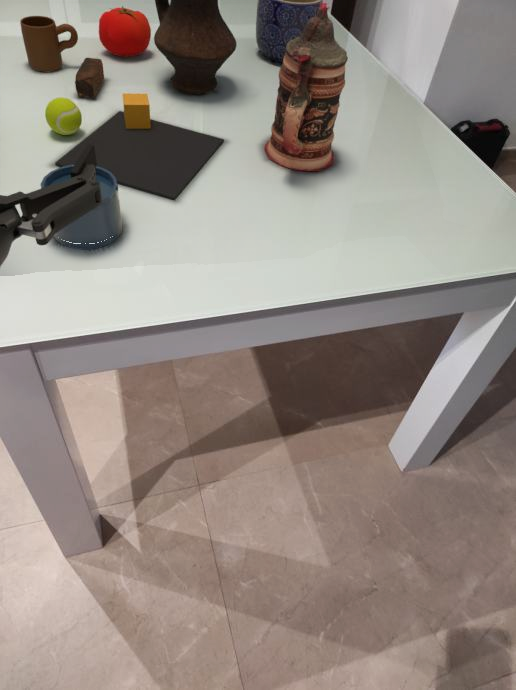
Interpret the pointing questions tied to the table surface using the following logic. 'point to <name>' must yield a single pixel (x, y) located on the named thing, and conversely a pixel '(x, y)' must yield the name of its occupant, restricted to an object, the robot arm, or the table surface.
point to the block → (136, 111)
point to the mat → (148, 154)
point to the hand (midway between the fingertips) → (36, 146)
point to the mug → (45, 42)
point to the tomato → (124, 32)
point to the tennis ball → (63, 116)
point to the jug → (193, 42)
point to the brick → (89, 77)
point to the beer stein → (308, 97)
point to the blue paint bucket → (91, 213)
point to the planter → (282, 24)
